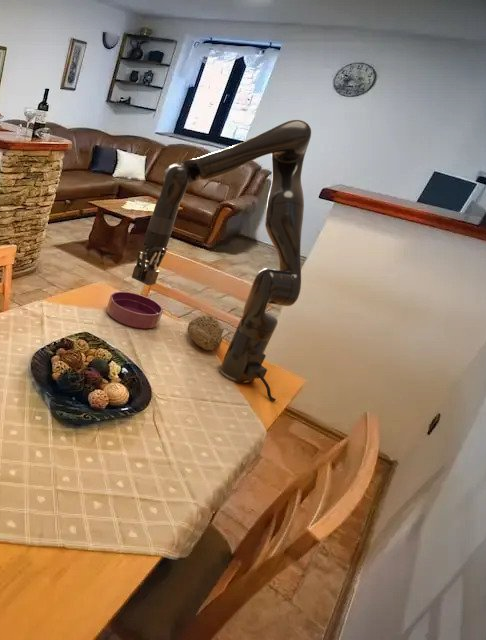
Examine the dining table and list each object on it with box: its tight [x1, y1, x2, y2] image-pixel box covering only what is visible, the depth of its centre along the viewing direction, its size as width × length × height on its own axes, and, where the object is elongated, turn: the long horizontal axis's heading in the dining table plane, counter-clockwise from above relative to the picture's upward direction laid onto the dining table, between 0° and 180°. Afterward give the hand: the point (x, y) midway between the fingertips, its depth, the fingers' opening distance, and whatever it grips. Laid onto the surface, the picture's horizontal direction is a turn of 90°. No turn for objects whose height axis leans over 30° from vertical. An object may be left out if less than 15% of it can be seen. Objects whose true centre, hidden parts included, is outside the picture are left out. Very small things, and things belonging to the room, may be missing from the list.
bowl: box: [106, 291, 164, 329], centre depth 173 cm, size 18×18×6 cm
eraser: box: [131, 264, 160, 286], centre depth 165 cm, size 7×4×4 cm, turn 44°
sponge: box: [186, 314, 225, 351], centre depth 166 cm, size 13×8×20 cm
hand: (143, 279), depth 166 cm, fingers closed on eraser, 4 cm apart
